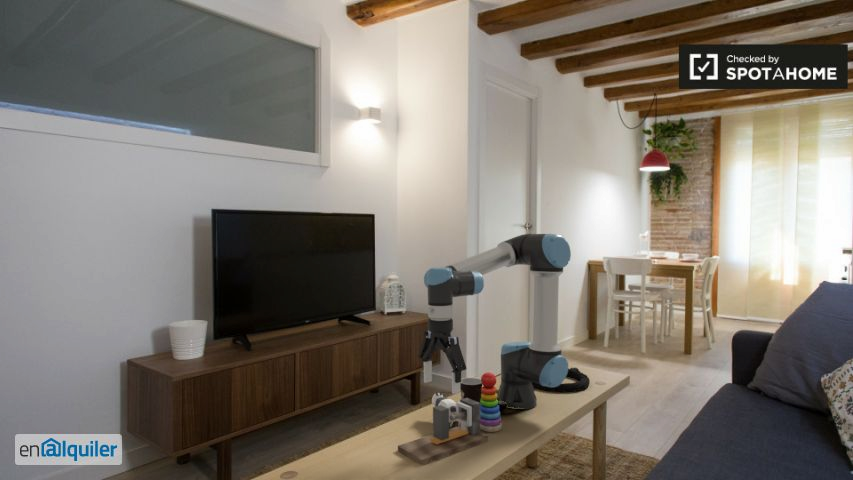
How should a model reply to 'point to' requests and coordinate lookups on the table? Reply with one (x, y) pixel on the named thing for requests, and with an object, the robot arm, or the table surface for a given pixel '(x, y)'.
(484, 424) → the stacking toy
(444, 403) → the giant panda
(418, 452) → the board
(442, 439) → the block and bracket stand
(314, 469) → the table surface
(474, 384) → the coffee mug
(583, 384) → the cable lock
